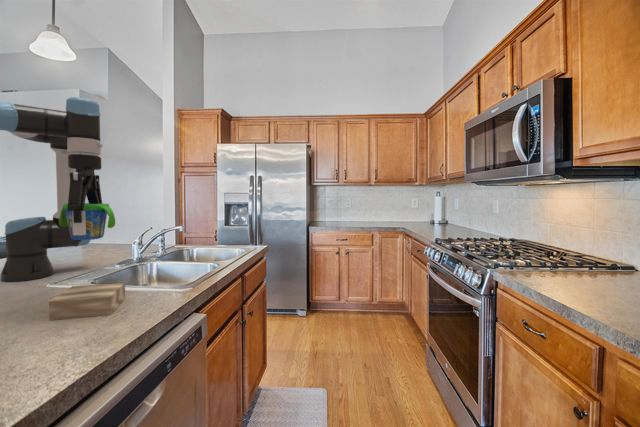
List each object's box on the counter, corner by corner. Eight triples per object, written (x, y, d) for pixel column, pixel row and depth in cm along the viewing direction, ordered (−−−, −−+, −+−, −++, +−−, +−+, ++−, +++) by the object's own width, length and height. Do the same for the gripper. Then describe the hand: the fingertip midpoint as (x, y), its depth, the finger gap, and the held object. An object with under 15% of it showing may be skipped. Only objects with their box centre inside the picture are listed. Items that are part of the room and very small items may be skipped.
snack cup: (126, 237, 92) (125, 203, 92) (93, 242, 82) (92, 204, 82) (83, 235, 96) (82, 202, 95) (46, 240, 85) (45, 203, 85)
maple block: (72, 302, 94) (72, 286, 94) (125, 298, 99) (124, 282, 98) (49, 320, 81) (48, 301, 81) (111, 314, 86) (110, 296, 85)
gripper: (84, 150, 78) (87, 237, 79) (113, 160, 99) (115, 228, 101) (47, 148, 75) (51, 238, 77) (85, 158, 97) (88, 228, 98)
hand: (87, 232), depth 89 cm, fingers closed on snack cup, 10 cm apart
